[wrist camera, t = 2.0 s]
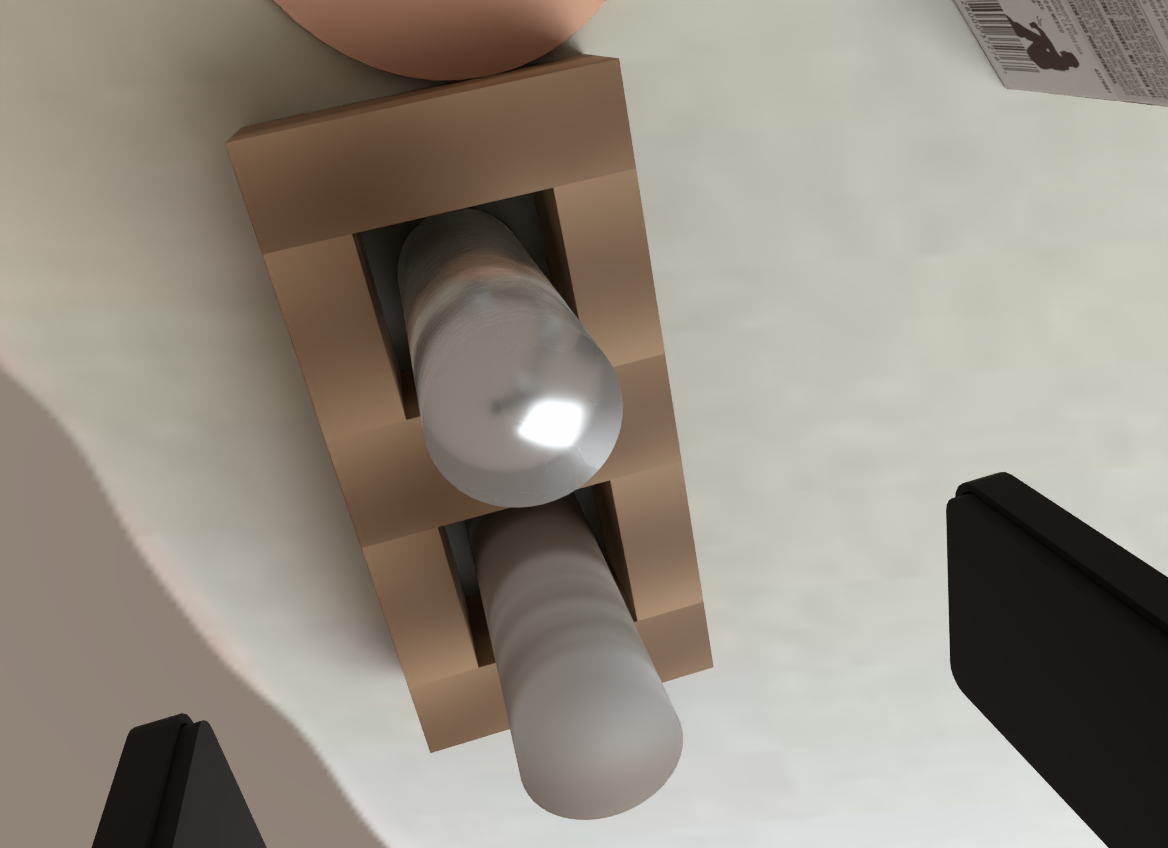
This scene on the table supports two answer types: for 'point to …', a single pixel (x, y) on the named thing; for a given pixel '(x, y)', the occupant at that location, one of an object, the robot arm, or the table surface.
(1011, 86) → the coffee box
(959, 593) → the robot arm
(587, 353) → the steel peg
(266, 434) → the table surface
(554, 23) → the disc
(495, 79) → the holder block
